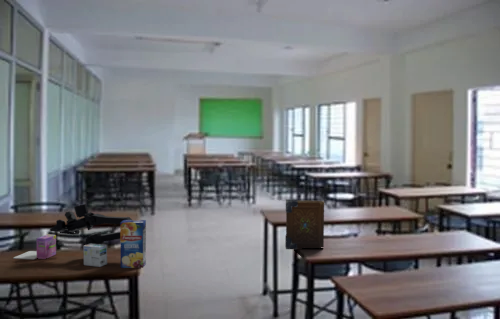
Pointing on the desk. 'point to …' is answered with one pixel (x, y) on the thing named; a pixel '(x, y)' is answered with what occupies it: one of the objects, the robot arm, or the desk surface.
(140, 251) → the juice carton
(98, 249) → the light bulb box
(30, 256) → the mat
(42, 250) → the box
